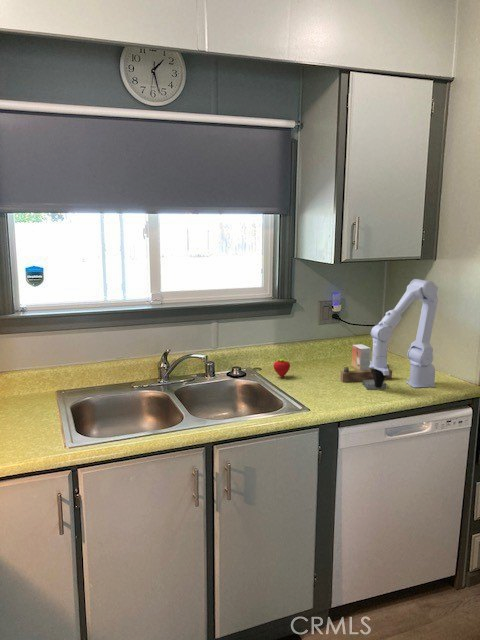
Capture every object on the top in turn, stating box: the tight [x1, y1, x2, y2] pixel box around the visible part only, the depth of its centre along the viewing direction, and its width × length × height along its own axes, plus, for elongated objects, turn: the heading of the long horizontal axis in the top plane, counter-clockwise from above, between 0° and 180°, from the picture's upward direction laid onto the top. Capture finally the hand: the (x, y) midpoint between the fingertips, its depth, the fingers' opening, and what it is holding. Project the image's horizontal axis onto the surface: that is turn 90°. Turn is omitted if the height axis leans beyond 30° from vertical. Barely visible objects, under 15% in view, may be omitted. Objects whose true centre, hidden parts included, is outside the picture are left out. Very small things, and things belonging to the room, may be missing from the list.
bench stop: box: [339, 364, 393, 383], centre depth 229 cm, size 22×3×6 cm, turn 98°
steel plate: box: [361, 380, 387, 390], centre depth 221 cm, size 8×6×2 cm
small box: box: [350, 343, 372, 370], centre depth 246 cm, size 8×6×10 cm
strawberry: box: [272, 355, 291, 378], centre depth 234 cm, size 6×8×10 cm
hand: (378, 387), depth 217 cm, fingers closed
